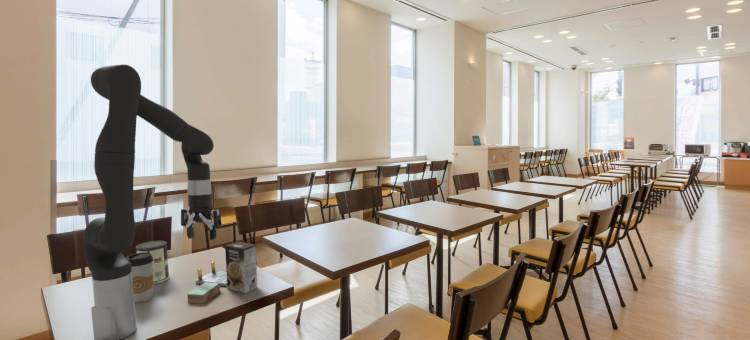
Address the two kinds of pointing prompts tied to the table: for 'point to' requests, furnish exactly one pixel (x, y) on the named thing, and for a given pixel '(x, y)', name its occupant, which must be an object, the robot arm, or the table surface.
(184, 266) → the table surface
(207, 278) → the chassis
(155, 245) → the coffee can
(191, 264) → the table surface
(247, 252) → the coffee box
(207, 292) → the mint green block
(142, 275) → the coffee cup
